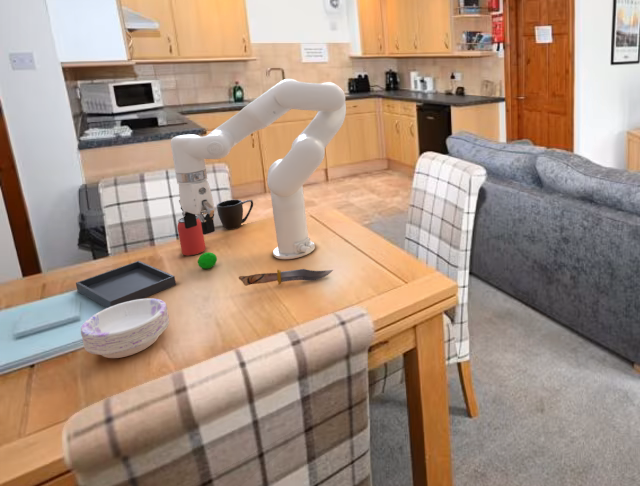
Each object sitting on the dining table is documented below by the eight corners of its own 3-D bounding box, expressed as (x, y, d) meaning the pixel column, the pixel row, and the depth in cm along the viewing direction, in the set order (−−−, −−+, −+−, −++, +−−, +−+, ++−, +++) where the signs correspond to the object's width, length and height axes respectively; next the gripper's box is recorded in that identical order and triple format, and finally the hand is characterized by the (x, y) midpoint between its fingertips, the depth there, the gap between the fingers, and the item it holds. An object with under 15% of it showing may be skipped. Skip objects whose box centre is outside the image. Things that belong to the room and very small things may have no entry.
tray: (176, 284, 134) (174, 276, 133) (112, 311, 121) (110, 301, 120) (140, 268, 144) (138, 260, 143) (77, 291, 131) (75, 282, 130)
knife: (334, 276, 137) (333, 260, 136) (334, 278, 136) (332, 262, 135) (241, 290, 130) (239, 274, 129) (240, 293, 129) (237, 276, 128)
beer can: (189, 248, 158) (183, 215, 155) (210, 247, 158) (204, 214, 156) (177, 257, 151) (171, 222, 149) (198, 256, 152) (192, 221, 149)
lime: (208, 272, 141) (206, 257, 140) (195, 270, 142) (192, 256, 141) (221, 264, 146) (219, 250, 145) (208, 263, 147) (206, 249, 146)
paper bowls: (187, 332, 111) (181, 302, 110) (116, 374, 97) (109, 341, 96) (143, 320, 116) (137, 292, 115) (71, 359, 102) (63, 327, 101)
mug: (258, 223, 179) (255, 200, 176) (223, 232, 171) (219, 208, 169) (252, 218, 184) (249, 195, 182) (218, 226, 176) (214, 203, 174)
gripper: (221, 177, 136) (228, 231, 140) (189, 169, 145) (197, 221, 148) (194, 183, 130) (202, 240, 134) (162, 175, 138) (171, 229, 142)
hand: (200, 230), depth 141 cm, fingers open, 9 cm apart
